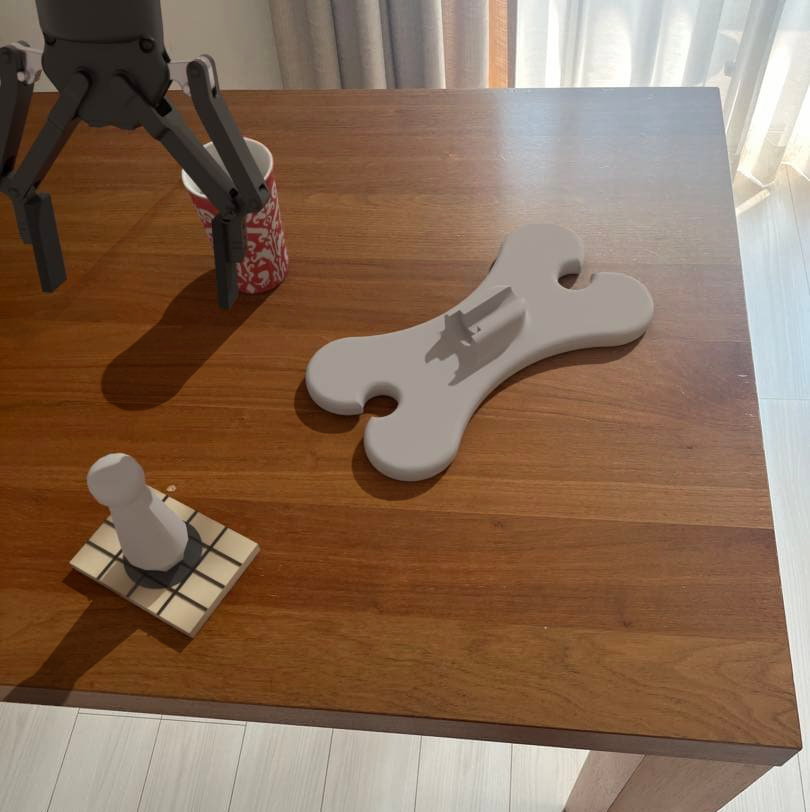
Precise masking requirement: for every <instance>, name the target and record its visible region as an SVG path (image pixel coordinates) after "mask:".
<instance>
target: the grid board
mask: <svg viewBox="0 0 810 812" xmlns="http://www.w3.org/2000/svg"><path fill="white" fill-rule="evenodd" d="M145 485H146V486H147V487H148V488H149V489H150V490H151V491H152V492H153V493H154V494H155V495H156V496H157V497H158V498H159V499H160V500H161V501H163V502H164V503H165V504H166V505H167V506H168V507H169V508H170V509H171V510H173V511H174V512H175V513H176V514H177V515H178V516H179V517H180V518H181V520H182V521H183V522H184V523H185V524H186V528H187V534H188V542H187V544H186V547H185V550H184V556H183V560H181V561H180V562H179V563H177V564H176V565H175V566H173V567H172V568H170V569H169V570H168V571H166V572H165V571H158V570H144V569H142V568H139V567H136V566H133V565H132V564H131V563H130V562H129V561H128V559H127V558H126V557H125V555H124V554H123V552H122V549H121V545H120V542H119V539H118V536H117V532H116V529H115V526H114V523H113V519H112V516H111V514H110V515H109V516H107V518H105V519H104V520H103V523H102V524H101V525H100V526H99V527H98V529H96V531H95V532H94V533H93V534H92V535H91V537H90V538H89V539H87V540H86V541H85V544H84V545H83V546H82V547H81V548H80V550H79V551H78V552H77V553H76V554H75V555H74V556H73V558H72V559H71V560H70V561H69V562H68V563H69V564H70V565H71V567H72V568H73V569H74V570H76V571H78V572H79V573H81V574H83V575H84V576H86V577H88V578H89V579H90V580H92V581H94V582H96V583H97V584H99V585H101V586H103V587H105V588H106V589H107V590H109V591H111V592H113V593H115V594H116V595H118V596H120V597H121V598H123V599H125V600H127V601H128V602H130V603H132V604H133V605H135V606H137V607H139V608H140V609H142V610H143V611H145V612H146V613H149V614H150V615H152V616H154V617H155V618H157V619H159V620H160V621H162V622H164V623H165V624H167V625H169V626H170V627H172V628H174V629H176V630H177V631H180V632H181V633H182V634H183V635H186V636H188V637H189V638H191V639H194V638H195V637H196V636H197V634H198V633H199V631H200V630H201V629H202V628H203V626H204V625H205V624H206V622H207V621H208V620H209V618H210V617H211V616H212V614H213V613H214V612H215V611H216V610H217V608H218V606H219V605H220V604H221V603H222V602H223V600H224V599H225V597H226V596H227V595H228V594H229V592H230V591H231V589H232V588H233V587H234V586H235V584H236V583H237V581H238V580H239V579H240V578H241V576H242V575H243V574H244V573H245V571H246V570H247V569H248V567H249V566H250V565H251V564H252V562H253V561H254V559H255V558H256V557H257V556H258V554H259V553H260V551H261V548H260V545H259V544H258V543H257V542H255V541H253V540H251V539H250V538H248V537H246V536H244V535H242V534H240V533H238V532H237V531H234V530H233V529H231V528H229V527H228V526H226V525H223V524H222V523H220V522H217V521H216V520H214V519H212V518H210V517H209V516H206V515H204V514H203V513H201V512H199V511H198V510H195V509H193V508H192V507H190V506H188V505H185V504H184V503H182V502H180V501H178V500H176V499H174V498H173V497H171V496H170V495H168V494H165V493H163V492H161V491H160V490H158V489H156V488H154V487H151V486H150V485H148V484H146V483H145Z"/></svg>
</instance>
